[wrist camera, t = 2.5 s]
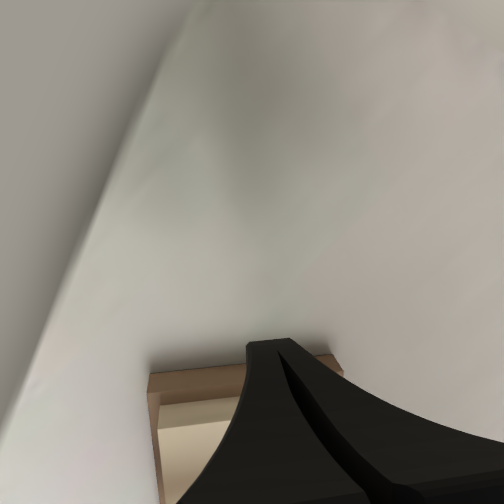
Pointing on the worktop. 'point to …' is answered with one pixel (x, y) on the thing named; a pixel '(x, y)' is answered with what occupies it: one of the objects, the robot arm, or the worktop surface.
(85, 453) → the worktop surface
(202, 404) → the birch coaster
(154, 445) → the panel
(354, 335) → the worktop surface
